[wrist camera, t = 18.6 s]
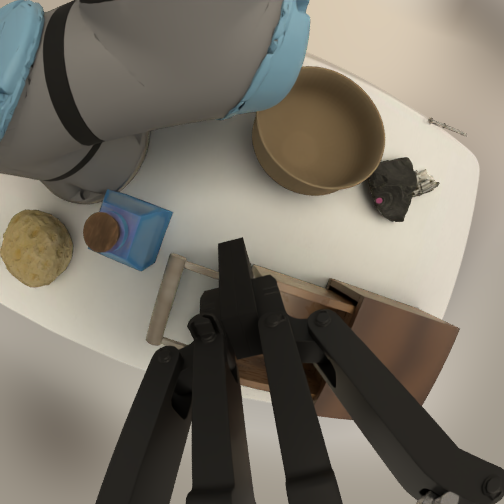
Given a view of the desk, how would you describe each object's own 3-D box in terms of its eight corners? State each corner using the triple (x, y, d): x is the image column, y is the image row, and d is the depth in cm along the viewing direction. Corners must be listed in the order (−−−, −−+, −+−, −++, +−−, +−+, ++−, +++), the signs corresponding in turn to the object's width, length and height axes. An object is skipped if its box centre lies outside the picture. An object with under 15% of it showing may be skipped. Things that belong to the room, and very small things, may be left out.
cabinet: (289, 373, 37) (308, 415, 27) (329, 277, 36) (364, 296, 26) (380, 389, 39) (411, 423, 29) (418, 308, 38) (460, 328, 28)
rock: (366, 143, 34) (385, 133, 29) (408, 161, 35) (429, 155, 30) (353, 211, 35) (372, 210, 30) (397, 225, 36) (419, 226, 31)
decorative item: (50, 274, 35) (51, 318, 28) (-3, 242, 28) (-17, 282, 21) (83, 223, 35) (89, 258, 28) (29, 184, 28) (17, 212, 21)
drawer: (154, 332, 33) (138, 360, 26) (184, 233, 32) (173, 236, 25) (308, 376, 36) (327, 408, 28) (346, 289, 35) (376, 306, 27)
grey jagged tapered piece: (417, 199, 34) (410, 178, 33) (407, 197, 36) (400, 177, 35) (446, 183, 34) (440, 163, 33) (436, 182, 36) (430, 163, 35)
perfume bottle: (154, 262, 33) (122, 283, 21) (109, 243, 32) (60, 255, 21) (172, 212, 33) (147, 207, 21) (126, 194, 32) (81, 182, 20)
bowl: (350, 113, 34) (388, 84, 24) (341, 207, 35) (382, 204, 25) (254, 90, 32) (266, 48, 22) (238, 189, 33) (245, 176, 24)
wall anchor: (431, 124, 35) (427, 121, 35) (466, 139, 36) (463, 135, 36) (433, 119, 34) (430, 116, 34) (469, 134, 35) (466, 131, 36)
